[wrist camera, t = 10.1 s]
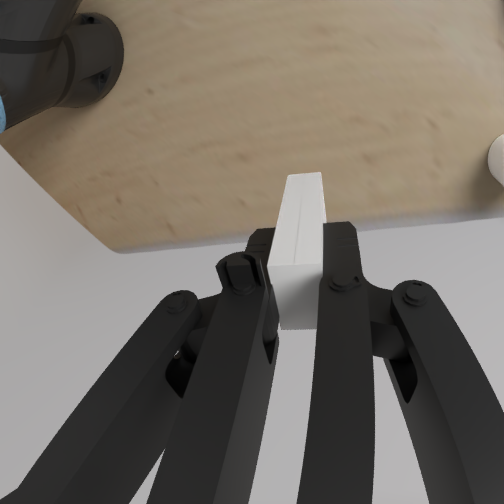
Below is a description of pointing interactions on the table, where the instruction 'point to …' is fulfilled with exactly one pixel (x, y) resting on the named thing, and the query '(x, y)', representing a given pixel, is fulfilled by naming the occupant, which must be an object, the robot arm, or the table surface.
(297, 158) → the table surface
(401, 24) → the table surface
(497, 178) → the pill bottle
